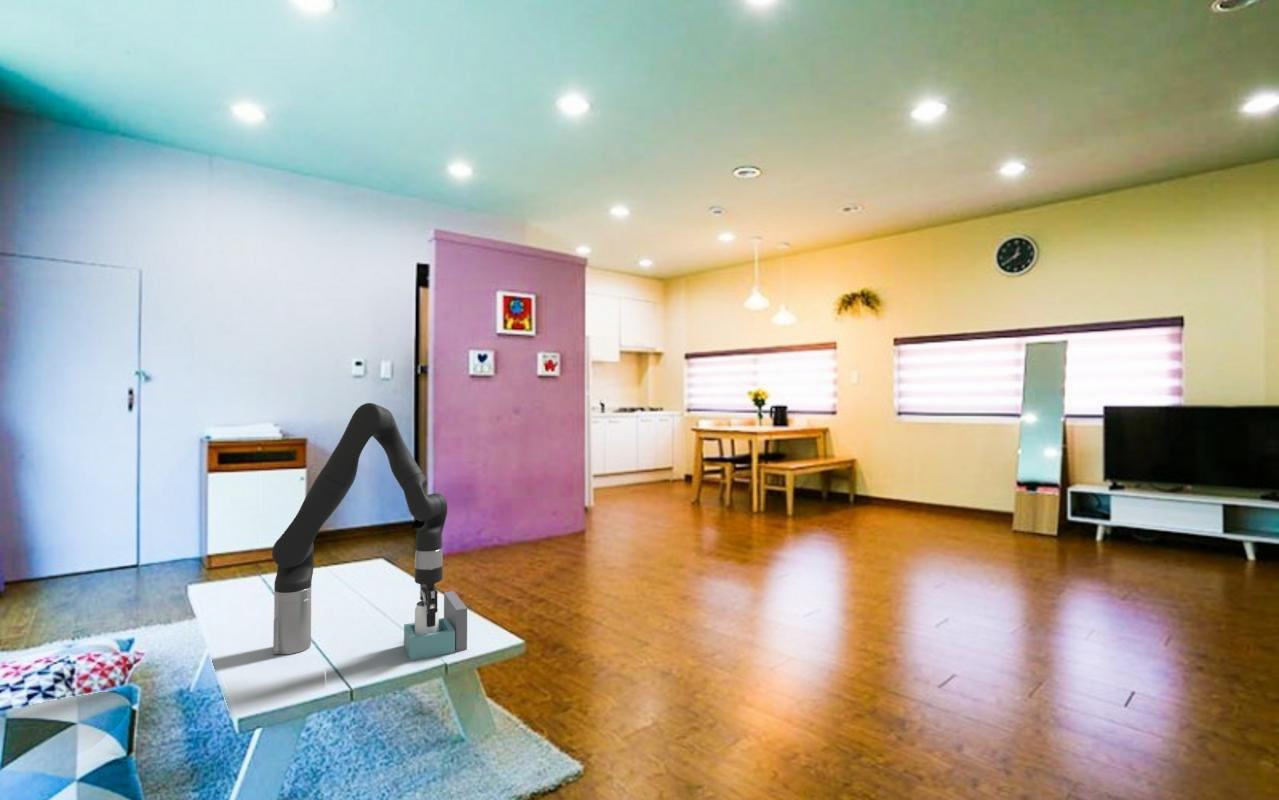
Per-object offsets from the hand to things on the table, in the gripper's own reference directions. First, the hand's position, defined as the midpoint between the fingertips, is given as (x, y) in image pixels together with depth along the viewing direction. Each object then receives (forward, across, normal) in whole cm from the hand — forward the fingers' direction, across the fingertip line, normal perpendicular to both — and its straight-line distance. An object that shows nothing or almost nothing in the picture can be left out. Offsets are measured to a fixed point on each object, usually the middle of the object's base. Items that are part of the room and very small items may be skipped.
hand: (428, 621), depth 174 cm
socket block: (+8, 0, 0) cm, 8 cm away
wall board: (+8, -4, +8) cm, 12 cm away
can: (+7, -1, 0) cm, 7 cm away
